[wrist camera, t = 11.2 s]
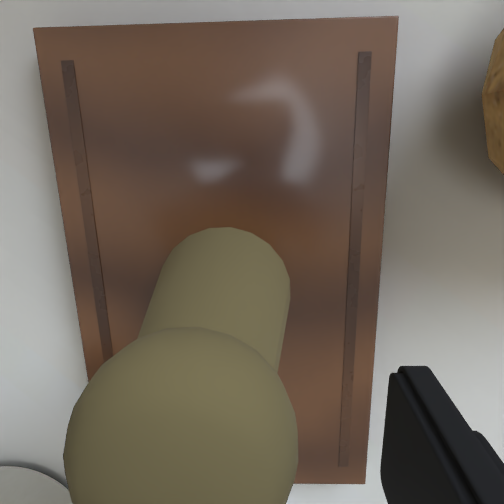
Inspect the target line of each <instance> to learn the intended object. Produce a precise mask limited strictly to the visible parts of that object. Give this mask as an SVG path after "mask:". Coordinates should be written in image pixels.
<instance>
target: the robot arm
mask: <svg viewBox="0 0 504 504" xmlns="http://www.w3.org/2000/svg"><path fill="white" fill-rule="evenodd" d="M380 472H381V482H382V486H383V490H384V493H385V496H386V499H387V502H388V504H504V463H503V462H502V461H501V459H500V458H499V456H498V455H497V454H496V452H495V451H494V449H493V448H492V447H491V445H490V444H489V442H488V441H487V440H486V438H485V437H484V436H483V435H482V434H481V433H479V432H477V431H472V430H471V428H470V427H469V425H468V424H467V422H466V421H465V419H464V418H463V416H462V415H461V413H460V412H459V411H458V409H457V408H456V406H455V405H454V403H453V402H452V400H451V399H450V397H449V396H448V394H447V393H446V392H445V390H444V389H443V387H442V386H441V384H440V383H439V381H438V380H437V378H436V377H435V375H434V374H433V373H432V371H431V370H430V369H429V367H427V366H400V367H399V369H398V372H397V373H391V374H390V377H389V385H388V396H387V406H386V416H385V427H384V437H383V448H382V458H381V470H380Z"/></svg>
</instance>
